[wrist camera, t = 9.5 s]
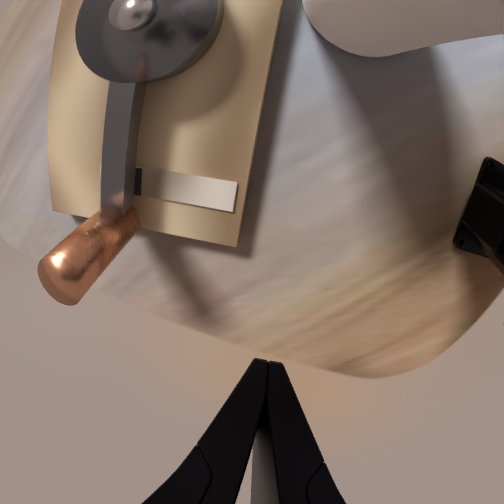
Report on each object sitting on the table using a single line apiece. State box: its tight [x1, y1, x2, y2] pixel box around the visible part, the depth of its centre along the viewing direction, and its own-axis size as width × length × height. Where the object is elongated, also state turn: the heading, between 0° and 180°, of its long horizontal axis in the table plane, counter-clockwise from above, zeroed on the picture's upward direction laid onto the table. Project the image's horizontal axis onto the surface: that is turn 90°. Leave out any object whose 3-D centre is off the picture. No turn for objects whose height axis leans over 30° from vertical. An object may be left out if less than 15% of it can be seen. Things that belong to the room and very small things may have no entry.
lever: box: [38, 0, 224, 305], centre depth 10 cm, size 16×7×7 cm, turn 167°
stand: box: [48, 0, 284, 247], centre depth 14 cm, size 13×16×2 cm
